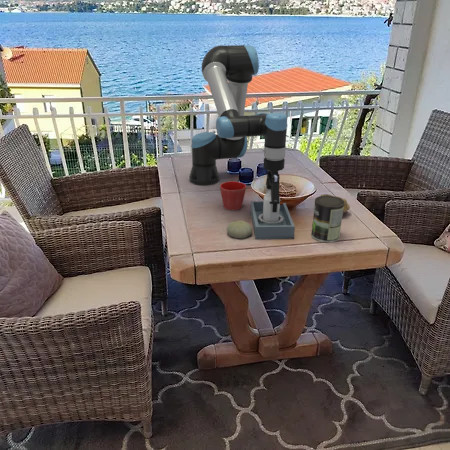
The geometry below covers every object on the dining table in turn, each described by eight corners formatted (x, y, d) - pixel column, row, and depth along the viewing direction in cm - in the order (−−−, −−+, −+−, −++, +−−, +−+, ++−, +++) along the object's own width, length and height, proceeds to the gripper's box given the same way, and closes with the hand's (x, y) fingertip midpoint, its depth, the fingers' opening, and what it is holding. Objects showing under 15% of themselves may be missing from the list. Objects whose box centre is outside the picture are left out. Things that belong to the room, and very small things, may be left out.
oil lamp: (324, 203, 177) (326, 186, 174) (354, 214, 167) (357, 196, 164) (308, 209, 171) (310, 192, 168) (339, 221, 161) (341, 202, 157)
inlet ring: (256, 217, 162) (256, 212, 161) (281, 217, 162) (281, 212, 161) (259, 227, 153) (259, 223, 152) (285, 227, 153) (285, 222, 152)
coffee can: (312, 242, 145) (316, 205, 139) (310, 229, 154) (313, 194, 148) (341, 243, 144) (346, 207, 138) (337, 230, 153) (342, 196, 147)
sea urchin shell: (226, 223, 155) (241, 210, 151) (241, 237, 156) (256, 225, 153) (222, 233, 147) (238, 220, 143) (237, 248, 148) (253, 236, 145)
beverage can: (261, 225, 155) (263, 195, 150) (263, 218, 161) (264, 190, 155) (278, 226, 154) (280, 196, 149) (279, 219, 160) (280, 191, 155)
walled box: (250, 212, 168) (250, 201, 166) (283, 212, 169) (284, 201, 167) (255, 239, 147) (255, 226, 145) (293, 238, 147) (294, 226, 145)
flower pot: (243, 212, 168) (244, 190, 164) (217, 210, 170) (217, 188, 166) (247, 203, 177) (248, 182, 173) (222, 201, 179) (222, 180, 175)
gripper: (260, 148, 157) (258, 199, 167) (267, 168, 135) (265, 226, 144) (279, 148, 157) (276, 199, 167) (290, 168, 135) (286, 225, 144)
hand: (271, 211), depth 155 cm, fingers open, 13 cm apart
